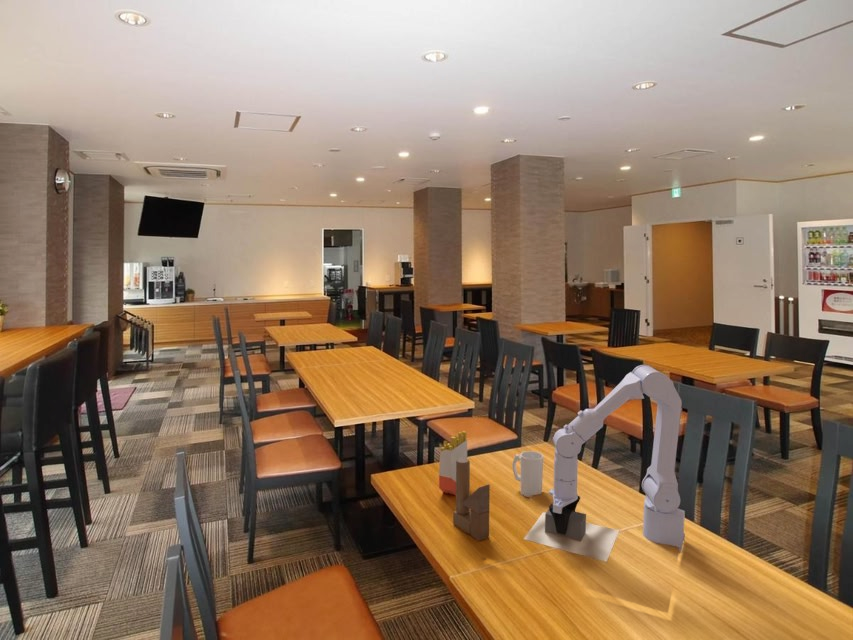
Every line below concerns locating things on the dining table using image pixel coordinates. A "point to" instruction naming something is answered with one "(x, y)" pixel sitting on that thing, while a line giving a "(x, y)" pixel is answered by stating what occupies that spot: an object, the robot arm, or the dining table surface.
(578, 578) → the dining table surface
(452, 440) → the french fries container
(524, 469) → the mug
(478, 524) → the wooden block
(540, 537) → the board
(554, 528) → the block
